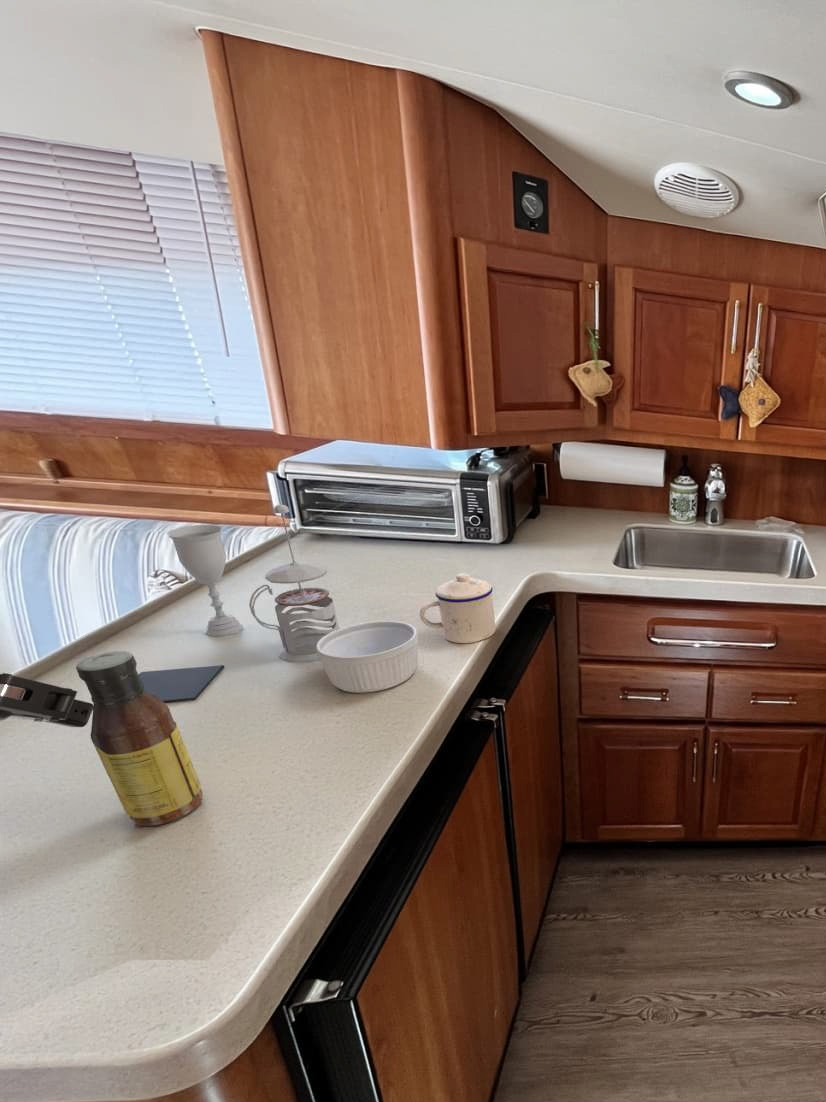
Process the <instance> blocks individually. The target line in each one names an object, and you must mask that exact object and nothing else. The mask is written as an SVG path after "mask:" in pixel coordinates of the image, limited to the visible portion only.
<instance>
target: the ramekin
mask: <svg viewBox="0 0 826 1102" xmlns="http://www.w3.org/2000/svg"><path fill="white" fill-rule="evenodd" d="M418 642H419V634H418V630H417V629H416V627H415V626H414V625H412V624H409V623H407V622H404V621H398V620H373V621H366V622H360V623H355V624H351V625H347V626H344V627H341V628H340V627H339V629H338V630H335V631H333V632H331V633H329V634H327V635H325V636H324V637H323V638H321V639H320V640H319V641H318V643H317V645H316V649H317V654H318V657H319V658H320V659H319V660H321V663H322V665H323V667H324V670H325V672H326V675H327V678H328V679H329V681H330V683H331V684H332V685H333V686H334V687H336V688H337V689H340V690H341V691H344V692H348V693H354V694H356V693H357V694H365V693H374V692H379V691H383V690H387V689H390V688H393V687H396V686H399V685H400V684H402V683H405V681H408V680H409V678H411V677H412V676H413V674H414V673H415V672H416V670H417V667H418V659H419V658H418V657H419V656H418Z"/></svg>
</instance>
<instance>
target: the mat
mask: <svg viewBox="0 0 826 1102" xmlns="http://www.w3.org/2000/svg"><path fill="white" fill-rule="evenodd" d="M224 668H225V665H224V664H219V665H208V666H198V667H197V666H196V667H195V666H194V667H185V668H171V669H161V670H148V671H140V673H138V675H139V677H140V680H141V682H142V683H143V684H144V686H145V691H146V692H149V693H150V694H152V695H155V696H157V697H158V698H159V699H160V700H162V701H163V702H164V703H165V704H167V703H177V702H186V701H187V702H188V701H195V700H196V699H197V698H198V697H199V696H201V694H202V693H203V692H204V691H205V690H206V688H207V687H208V686H209V685H210V684H211V683H212V682H213V681H214V680H215V678H217V676H218V675H219V674H220V673H221V672H222V670H224Z"/></svg>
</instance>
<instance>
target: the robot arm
mask: <svg viewBox="0 0 826 1102" xmlns="http://www.w3.org/2000/svg"><path fill="white" fill-rule="evenodd" d="M77 694H78V691H77V690H74V689H73V688H69V687H63V686H57V685H54V684H50V683H45V682H41V681H37V680H33V679H29V678H24V677H22V676H21V677H20V676H15V675H13V674H12V673H6V672H3V673H0V722H3V721H5V720H6V719H10V718H11V719H21V720H29V721H33V722H36V723H44V722H45V723H49V724H54V725H60V726H64V727H70V728H83V727H86V725H87V724H88V722H89V720H90V717H91V715H92V714H93V703H91V702H88V701H84V700H79V699H76V696H77Z"/></svg>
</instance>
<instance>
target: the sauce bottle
mask: <svg viewBox="0 0 826 1102" xmlns="http://www.w3.org/2000/svg"><path fill="white" fill-rule="evenodd" d="M137 665H138V663H137V661H136V658H135V657H134V655H133V653H131V652H130V651H127V650H113V651H112V650H111V651H110V650H109V651H107V652H102V653H98V654H94V655H91V656H89V657H85V658H83V659H82V660H79V662H78V663H77V664H76V666H75V669H76V672H77V674H78V677H79V678H80V679H81V681H83V682H84V683H85V686H86V687H87V691H88V692H89V694H90V696H91V702H92V705H93V710H92V717H91V718H92V719H91V729H90V740H91V742H92V744H93V746H94V748H95V750H96V752H97V754H98V757H99V759H100V761H101V763H102V766H103V768H104V770H105V772H106V775H108V778H109V781H110V782H111V784H112V787H113V788H114V791H115V793H116V795H117V797H118V800H119V802H120V804H121V806H122V808H123V810H124V812H125V813H126V815H127V816H129V818H130V820H131V821H133V823H135V824H138V825H139V826H143V827H147V826H148V827H154V826H160V825H165V824H169V823H173V822H175V821H178V820H180V819H181V818H183V817H185V816H187V815H188V814H190V813H192V812H193V811H194V810H196V809H198V807H199V806H200V805H201V804H202V801H203V790H202V789H201V788H202V784H201V781H200V779H199V776H198V774H197V771H196V769H195V767H194V765H193V762H192V758H191V757H190V754H189V751H188V750H187V746H186V745H185V742H184V739H183V736H182V735H181V732H180V729H179V727H178V724H177V722H176V721H175V720H174V718H173V715H172V713H171V709H170V708H169V707H168V704H167V703H164V702H163V701H162V700H160V699H159V698H158V697H157V696H155V695H152V694H150V693H149V692H146V691H145V686H144V684H143V683H142V682H141V680H140V677H139V673H138V671H137Z"/></svg>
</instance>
